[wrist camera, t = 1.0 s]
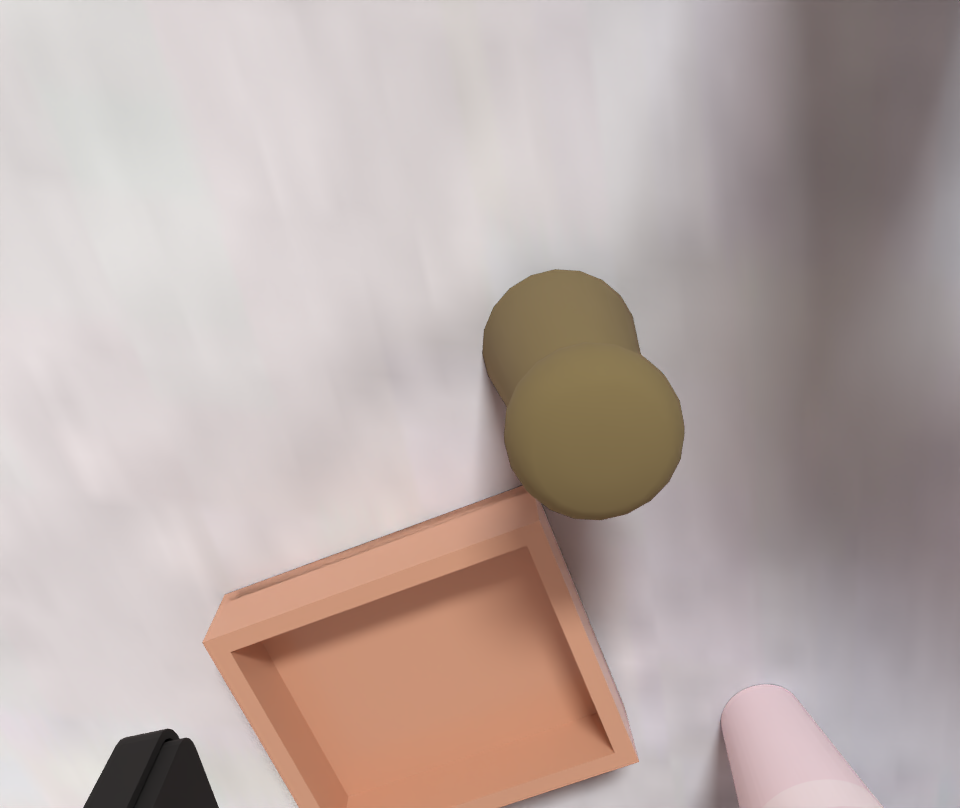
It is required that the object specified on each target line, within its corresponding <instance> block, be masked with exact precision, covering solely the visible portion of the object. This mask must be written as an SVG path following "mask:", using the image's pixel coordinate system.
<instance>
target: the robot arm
mask: <svg viewBox="0 0 960 808" xmlns="http://www.w3.org/2000/svg"><path fill="white" fill-rule="evenodd" d="M83 808H219V807H218V805H217V802H216V799H215V797H214V794H213V791H212V789H211V786H210V784H209V781H208V778H207V776H206V773H205V771H204V768H203V765H202V763H201V760H200V758H199V755H198V752H197V750H196V747H195V745H194V743H193V742H192V741H191V740H190V739H189V738H182V739H179V737H178V735H177V734H176V733H175V732H174V731H173V730H171V729H164V730H159V731H154V732H150V733H145V734H140V735H135V736H130V737H125V738H123V739H121V740H120V741H119V742H118V744H117V745H116V747H115V748H114V750H113V752H112V754H111V756H110V758H109V760H108V762H107V764H106V765H105V767H104V769H103V771H102V773H101V775H100V777H99V779H98V781H97V783H96V784H95V786H94V788H93V790H92V792H91V794H90V796H89V798H88V800H87V801H86V803H85V805H84V807H83Z"/></svg>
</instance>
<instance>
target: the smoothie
mask: <svg viewBox="0 0 960 808" xmlns="http://www.w3.org/2000/svg"><path fill="white" fill-rule="evenodd" d="M721 727H722V732H723V736H724V741H725V745H726V749H727V754H728V758H729V763H730V767H731V771H732V776H733V780H734V785H735V789H736V793H737V798H738V802H739V807H740V808H884V807H883V806H882V805H881V804H880V802H879V801H878V800H877V799H876V798H875V796H874V795H873V794H872V793H871V791H870V790H869V789H868V788H867V786H866V785H865V784H864V783H863V781H862V780H861V779H860V778H859V776H858V775H857V774H856V773H855V771H854V770H853V769H852V768H851V766H850V765H849V764H848V762H847V761H846V760H845V759H844V757H843V756H842V755H841V754H840V752H839V751H838V750H837V749H836V747H835V746H834V745H833V744H832V742H831V741H830V740H829V739H828V737H827V736H826V735H825V733H824V732H823V731H822V730H821V728H820V727H819V726H818V725H817V723H816V722H815V721H814V720H813V718H812V717H811V716H810V715H809V713H808V712H807V711H806V710H805V708H804V707H803V706H802V705H801V703H800V702H799V701H798V699H797V698H796V697H795V696H794V695H793V694H792V693H791V692H790V691H788V690H787V689H785V688H782V687H780V686H776V685H769V684H762V685H756V686H752V687H749V688H746V689H744V690H742V691H740V692H739V693H737V694H736V695H735V696H733V697H732V698H731V699H730V700H729V702H728V703H727V704H726V706H725V708H724V710H723V712H722V716H721Z"/></svg>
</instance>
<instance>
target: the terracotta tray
mask: <svg viewBox="0 0 960 808" xmlns="http://www.w3.org/2000/svg"><path fill="white" fill-rule="evenodd" d="M202 643H203V644H204V646H205V648H206V650H207V651H208V653H209V655H210V656H211V658H212V660H213V661H214V663H215V665H216V667H217V668H218V670H219V672H220V673H221V675H222V677H223V678H224V680H225V682H226V684H227V685H228V687H229V689H230V690H231V692H232V694H233V696H234V697H235V699H236V701H237V702H238V704H239V706H240V707H241V709H242V711H243V713H244V714H245V716H246V718H247V719H248V721H249V723H250V725H251V726H252V728H253V730H254V731H255V733H256V735H257V736H258V738H259V740H260V742H261V743H262V745H263V747H264V748H265V750H266V752H267V754H268V755H269V757H270V759H271V760H272V762H273V764H274V765H275V767H276V769H277V771H278V772H279V774H280V776H281V777H282V779H283V781H284V782H285V784H286V786H287V788H288V789H289V791H290V793H291V794H292V796H293V798H294V800H295V801H296V803H297V805H298V806H299V808H500V807H503V806H506V805H509V804H512V803H515V802H518V801H521V800H524V799H527V798H530V797H533V796H536V795H539V794H542V793H545V792H548V791H551V790H554V789H558V788H561V787H564V786H567V785H570V784H573V783H576V782H579V781H582V780H585V779H588V778H591V777H594V776H597V775H600V774H603V773H606V772H609V771H612V770H615V769H618V768H622V767H625V766H628V765H631V764H634V763H637V762H639V759H638V755H637V751H636V748H635V744H634V740H633V737H632V733H631V729H630V725H629V722H628V718H627V714H626V710H625V707H624V704H623V702H622V699H621V697H620V695H619V692H618V690H617V687H616V685H615V682H614V680H613V677H612V675H611V673H610V670H609V668H608V665H607V663H606V660H605V658H604V656H603V653H602V651H601V648H600V646H599V643H598V641H597V638H596V636H595V634H594V631H593V629H592V626H591V624H590V621H589V619H588V617H587V614H586V612H585V609H584V607H583V604H582V602H581V599H580V597H579V595H578V592H577V590H576V587H575V585H574V582H573V580H572V578H571V575H570V573H569V570H568V568H567V565H566V563H565V560H564V558H563V556H562V553H561V551H560V548H559V546H558V543H557V541H556V538H555V536H554V534H553V531H552V529H551V526H550V524H549V521H548V519H547V517H546V514H545V512H544V509H543V507H542V504H541V502H539V501H538V500H537V499H535V498H534V497H533V496H532V495H530V494H529V493H528V492H527V490H526V489H525V488H524V486H523V485H522V486H520V487H517V488H514V489H512V490H509V491H506V492H503V493H501V494H498V495H495V496H493V497H490V498H487V499H484V500H482V501H479V502H476V503H473V504H471V505H468V506H465V507H463V508H460V509H457V510H454V511H452V512H449V513H446V514H443V515H441V516H438V517H435V518H433V519H430V520H427V521H424V522H422V523H419V524H416V525H413V526H411V527H408V528H405V529H403V530H400V531H397V532H394V533H392V534H389V535H386V536H383V537H381V538H378V539H375V540H373V541H370V542H367V543H364V544H362V545H359V546H356V547H354V548H351V549H348V550H345V551H343V552H340V553H337V554H334V555H332V556H329V557H326V558H324V559H321V560H318V561H315V562H313V563H310V564H307V565H304V566H302V567H299V568H296V569H294V570H291V571H288V572H285V573H283V574H280V575H277V576H274V577H272V578H269V579H266V580H264V581H261V582H258V583H255V584H253V585H250V586H247V587H244V588H242V589H239V590H236V591H234V592H231V593H228V594H225V595H224V598H223V600H222V602H221V604H220V606H219V608H218V610H217V613H216V615H215V617H214V619H213V621H212V623H211V625H210V627H209V630H208V632H207V634H206V636H205V638H204V640H203V642H202Z"/></svg>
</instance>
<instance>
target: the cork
mask: <svg viewBox="0 0 960 808" xmlns="http://www.w3.org/2000/svg"><path fill="white" fill-rule="evenodd" d="M482 354H483V357H484V361H485V365H486V369H487V373H488V376H489V378H490V380H491V381H492V383H493V385H494V386H495V388H496V390H497V391H498V393H499V395H500V396H501V398H502V400H503V402H504V403H505V405H506V407H507V409H506V417H505V429H504V442H505V446H506V450H507V454H508V458H509V462H510V466H511V468H512V470H513V471H514V473H515V474H516V476H517V477H518V479H519V480H520V482H521V483H522V485H523V486H524V488H525V489H526V490H527V492H528V493H529V494H530V495H532V496H533V497H534V498H535V499H537V500H538V501H539V502H541V503H542V504H543V505H545V506H546V507H547V508H548V509H550V510H552V511H555V512H557V513H560V514H563V515H566V516H569V517H571V518H574V519H590V520H604V519H608V518H612V517H616V516H621V515H625V514H628V513H630V512H631V511H633V510H635V509H637V508H639V507H640V506H642V505H644V504H646V503H648V502H649V501H651V500H652V499H653V498H654V497H655V496H656V495H657V494H658V493H659V492H660V491H661V490H662V489H663V488H664V487H665V485H666V484H667V483H668V482H669V481H670V479H671V477H672V475H673V473H674V471H675V469H676V467H677V465H678V463H679V461H680V459H681V453H682V446H683V440H684V421H683V416H682V411H681V405H680V400H679V399H678V397H677V395H676V394H675V392H674V390H673V388H672V387H671V385H670V383H669V382H668V380H667V378H666V377H665V376H664V374H663V373H662V372H661V371H660V370H659V369H658V368H656V367H655V366H654V365H653V364H652V363H651V362H649V361H648V360H647V359H646V358H645V357H643V356H642V355H641V353H640V348H639V344H638V339H637V334H636V330H635V325H634V320H633V316H632V314H631V313H630V311H629V309H628V308H627V306H626V304H625V302H624V301H623V299H622V297H621V296H620V295H619V294H618V293H617V292H616V291H614V290H613V289H612V288H611V287H610V286H609V285H608V284H606V283H605V282H604V281H603V280H601V279H598V278H596V277H593V276H591V275H588V274H586V273H583V272H581V271H571V270H556V269H555V270H551V271H547V272H543V273H539V274H535V275H531V276H529V277H528V278H526V279H524V280H523V281H521V282H519V283H518V284H516V285H515V286H513V287H511V288H510V289H509V290H508V291H507V292H506V293H505V294H504V296H503V297H502V298H501V299H500V300H499V301H498V303H497V304H496V305H495V306H494V307H493V310H492V312H491V314H490V317H489V319H488V322H487V324H486V326H485V329H484V338H483V352H482Z"/></svg>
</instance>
